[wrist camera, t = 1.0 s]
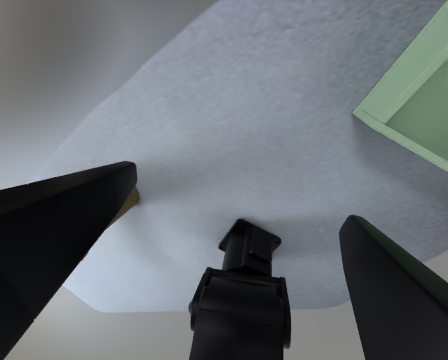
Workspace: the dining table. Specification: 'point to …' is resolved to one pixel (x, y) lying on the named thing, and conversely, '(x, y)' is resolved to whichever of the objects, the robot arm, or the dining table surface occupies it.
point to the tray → (415, 95)
